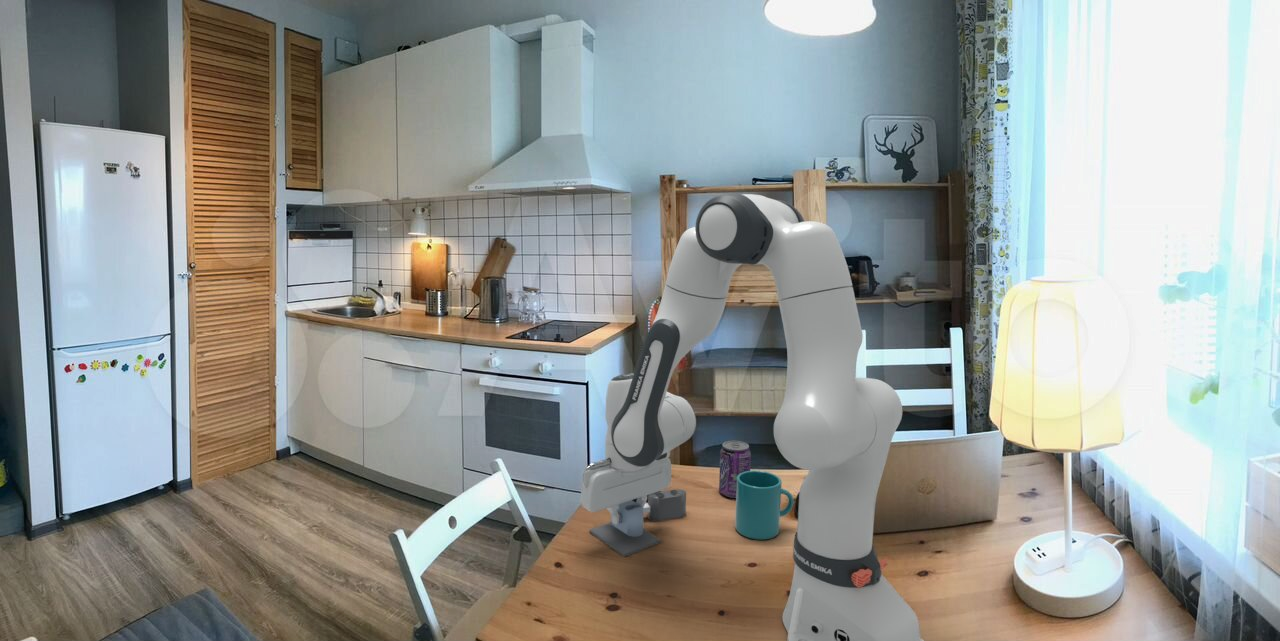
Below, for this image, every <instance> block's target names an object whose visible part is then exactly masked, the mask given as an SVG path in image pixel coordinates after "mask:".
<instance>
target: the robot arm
mask: <svg viewBox="0 0 1280 641" xmlns="http://www.w3.org/2000/svg"><path fill="white" fill-rule="evenodd" d="M836 235H837V234H836V233H835V231H834V229H833V228H831V227H830V226H829V225H827V224H825V223H823V222H820V221H813V220H810V221H808V220H806V221H805V219H804V217H803V216H802V214H801V212H800V211H799V210H798V209H797V208H796V207H794V205H793V204H792V205H791V204H790V203H788V202H786V201H784V200H780V199H774V198H770V197H767V196H764V195H761V194H754V193H753V194H752V193H750V194H749V193H743V194H741V193H737V192H727V193H725V194H719V195H717V196H715V197H713V198H711V199H709V200H708V201H706V202H705V204H704V205H703V206H702V207H701V208H700V211H699V212H698V214H697V216H696V221H695V226H693V227H690V228H688V229H686V230H685V231H684V232H683V233H682V234H681V236H680V238H679V241H678V243H677V245H676V248H675V250H674V253H673V255H672V259H671V262H670V265H669V269H668V272H667V276H666V280H665V283H664V284H665V285H664V290H663V292H662V297H661V299H660V303H659V306H658V310H657V313H656V315H655V318H654V320H653V322H652V323H651V326H650V328H649V329H648V331H647V335H646V336H645V339H644V342H643V345H642V347H641V349H640V350H641V351H640V353H639V355H638V360H637V363H636V366H635V370H634V372H628V373H623V374H620V375H617V376H614V377H613V378H612V379H610V381H609V383H608V386H607V390H606V396H605V397H606V398H605V421H606V425H607V430H606V434H605V447H604V448H605V452H604V454H605V458H604V459H601V460H599V461H595V462H591V463H589V464H588V466H587V467H585V469H584V470H583V472H582V484H581V489H580V504H581V506H582V507H583V508H584V509H586V510H587V511H588V512H590V513H596V512H600V511H603V510H607V509H606V508H608V510H609V511H608V510H607V511H608V512H609V513H610V515H611V514H612V523H614V524H615V525H617V524H620V523H622V522H623V520H622V519H623V515H622V514H620V513H618V512H617V511H616V509H618V508H619V504H621V503H624V502H628V501H631V500H634V499H637V501H636V503H637V504H639V505H641V506H642V507H644V505H645V503H647V502H646V501H647V495H649V494H652V493H655V492H658V491H665V490H666V489H668V488H669V487H670V485H671V483H672V463H671V462H672V461H671V459H670V456H671V451H672V450H674V449H676V448H677V447H678V446H680V445H682V444H684V443H686V442H687V441H688V440H690V439H691V438H692V437H693V436H694V434H695V432H696V428H697V417H696V416H697V415H696V411H695V410H694V408H693V406H692V404H691V403H690V402H689V401H688V400H687V399H686V398H684V397H683V396H680V395H676V394H673V393H671V392H668V388H669V387H670V386H669V385H670V383H671V379H672V376H673V374H674V371H675V370H676V367H677V366H678V364H680V361H681V360H682V359H683V358H684V357H685V356H686V355H687V354H689V352H690V351H692V349H694V348H695V347H696V346H698V345H699V344H700V343H702V341H705V340H706V339H707V338H708V337H710V336H711V335H712V334H713V333H714V332H715V331H716V329H717V327H718V325H719V323H720V321H721V318H722V317H723V314H724V310H725V307H726V302H727V298H728V295H729V291H730V285H731V281H732V278H733V276H734V273H735V272H736V270H737V269H738V268H739V267H740V266H742V265H750V266H751V265H752V266H753V265H755V266H757V265H763V266H765V267H766V268H767V269H768V270H769V271H770V273H771V276H772V279H773V282H774V284H775V289H776V295H777V301H778V306H779V311H780V315H781V321H782V326H783V331H784V332H783V333H784V338H785V343H786V350H787V351H786V352H787V354H786V355H787V359H786V360H787V361H786V362H787V369H786V381H785V382H786V383H785V390H784V395H783V400H782V405H781V406H780V409H779V410H778V413H777V414H776V417H775V419H774V423H773V437H774V442H775V444H776V446H777V449H778V450H779V453H780V454H781V456H783V458H784V459H785V460H786V461H787V462H788V463H789V464H791V465H792V466H793V467H795V468H798V469H802V470H807V471H808V472H807V474H806V476H805V477H804V479H803V480H802V483H801V485H800V489H799V493H798V512H797V531H796V532H795V534H794V539H793V550H792V559H793V561H794V568H793V577H792V580H791V587H790V591H789V594H788V595H789V596H788V599H787V602H786V605H785V608H784V609H783V612H782V624H783V625H784V628H785V630H786V632H787V639H786V641H925V640H924V639H923V638H922V637H921V632H920V624H919V619H918V616H917V615H916V612H915V611H914V610H913V609H912V608H911V606H910V605H909V604H908V603H907V602H906V601H905V600H904V598H902V596H901V595H900V594H899V593H898V592H897V591H896V589H895V587H893V586H892V585H891V583H890V582H889V581H888V579H887V578H885V576H884V575H883V574H882V572H883V571H882V569H885V568H886V567H887V566H888V560H889V558H888V557H885V558H884V559H881V560H880V561H879V558H878V556H877V553H876V549H875V546H874V544H873V537H874V524H875V523H874V522H875V510H876V504H877V503H876V502H877V496H878V491H879V487H880V485H881V480H882V477H883V473H884V469H885V465H886V463H887V458H888V455H889V451H890V447H891V443H892V441H893V437H894V435H895V433H896V431H897V428H898V427H899V425H900V423H901V422H902V417H903V404H902V401H901V399H900V397H899V395H898V393H897V391H896V390H895V389H894V388H893V387H892V386H891V385H889V383H886V382H885V381H883V380H880V379H876V378H871V377H857V376H856V375H857V360H858V354H859V350H860V349H861V346H862V343H863V338H864V337H863V330H862V326H861V325H862V324H861V321H860V315H859V311H858V306H857V301H856V297H855V291H854V287H853V283H852V282H853V281H852V278H851V275H850V274H851V273H850V270H849V267H848V264H847V261H846V258H845V254H844V252H843V249H842V246H841V244H840V242H839V239H838V237H837V236H836Z"/></svg>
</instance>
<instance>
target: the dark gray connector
mask: <svg viewBox="0 0 1280 641" xmlns="http://www.w3.org/2000/svg"><path fill="white" fill-rule="evenodd" d="M686 509H687V492H686V491H685V490H684V489H669V490H661V491H660V492H655V493H652V494H649V495H648V502H646V503H645V505H644V507H643V514H647V518H648V520H649V521H652V522H662V521H663V522H664V521H669V520H675V519H682V518H685V517H686V511H687V510H686Z"/></svg>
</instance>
